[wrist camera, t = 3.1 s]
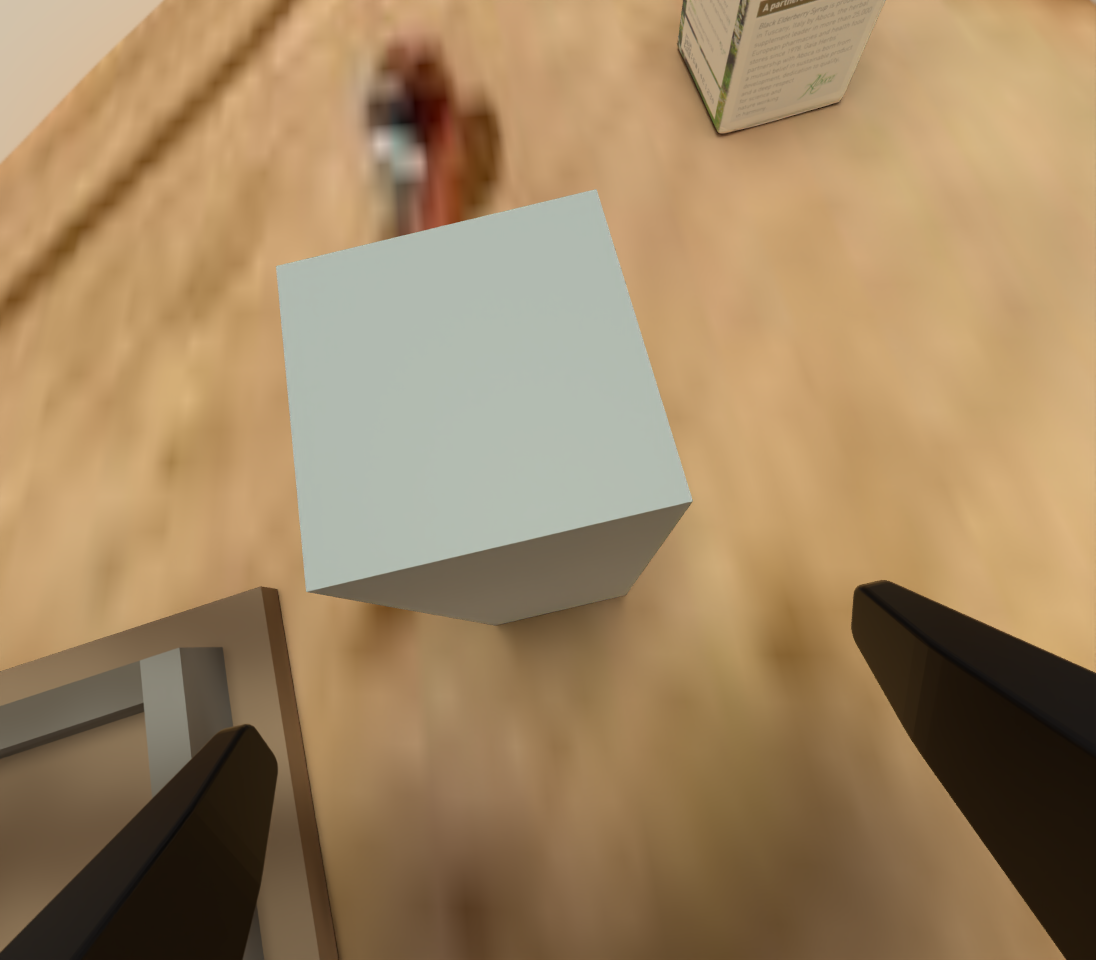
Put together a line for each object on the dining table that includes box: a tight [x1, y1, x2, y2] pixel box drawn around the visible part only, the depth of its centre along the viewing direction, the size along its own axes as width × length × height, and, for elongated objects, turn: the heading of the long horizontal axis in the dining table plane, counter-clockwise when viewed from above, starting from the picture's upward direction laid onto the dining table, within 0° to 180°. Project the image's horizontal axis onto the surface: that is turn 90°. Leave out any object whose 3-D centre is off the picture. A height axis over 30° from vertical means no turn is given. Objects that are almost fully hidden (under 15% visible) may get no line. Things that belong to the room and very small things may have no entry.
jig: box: [0, 587, 339, 960], centre depth 16 cm, size 13×13×3 cm
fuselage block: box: [276, 189, 693, 625], centre depth 13 cm, size 4×4×13 cm
